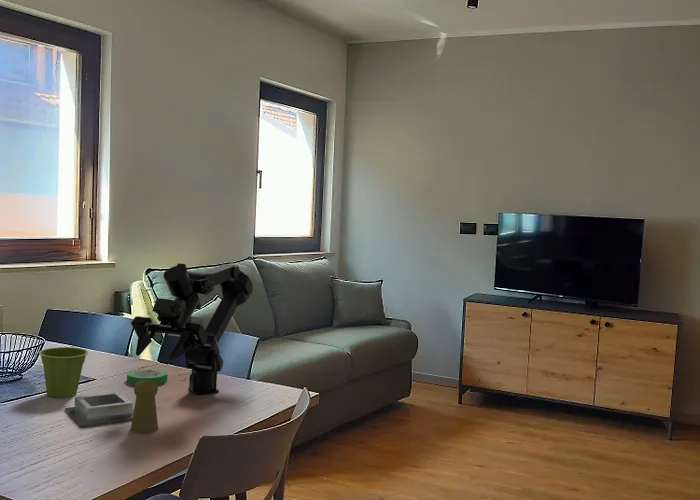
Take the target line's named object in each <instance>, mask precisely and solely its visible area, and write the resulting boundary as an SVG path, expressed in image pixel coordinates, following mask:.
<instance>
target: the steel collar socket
mask: <svg viewBox="0 0 700 500" xmlns="http://www.w3.org/2000/svg"><path fill="white" fill-rule="evenodd" d="M64 412H66V413H67V415H68V416H70V418H71V419H72V420H73V421H74V422H75V423H76V424H77V425H78V426H80V428H88V427H94V426H99V425H100V426H101V425H110V424H114V423H122V422H129V421H131V422H132V419H133V413H134V408H133V402H132V401H131V400H129V399H128V398H127V397H126V396H125V395H123V394H122V393H120V391H115V392H107V393H98V394H89V395H80V396H75V397H74V406H72V407H64Z"/></svg>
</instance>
